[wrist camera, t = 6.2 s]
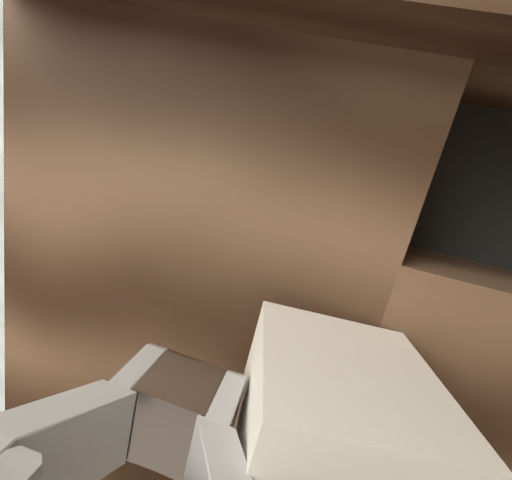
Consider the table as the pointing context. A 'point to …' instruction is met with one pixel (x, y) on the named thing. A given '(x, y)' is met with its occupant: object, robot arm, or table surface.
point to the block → (351, 406)
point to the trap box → (257, 184)
